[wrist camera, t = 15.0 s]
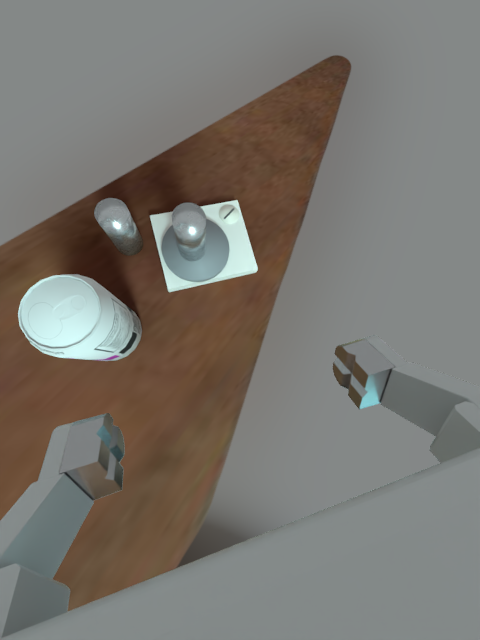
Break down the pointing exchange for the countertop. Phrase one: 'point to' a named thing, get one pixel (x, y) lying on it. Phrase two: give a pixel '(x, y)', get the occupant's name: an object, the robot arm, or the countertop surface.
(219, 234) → the scale
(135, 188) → the countertop surface
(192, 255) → the glossy grey rounded cylinder
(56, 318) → the supplement can
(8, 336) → the countertop surface
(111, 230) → the cylinder
